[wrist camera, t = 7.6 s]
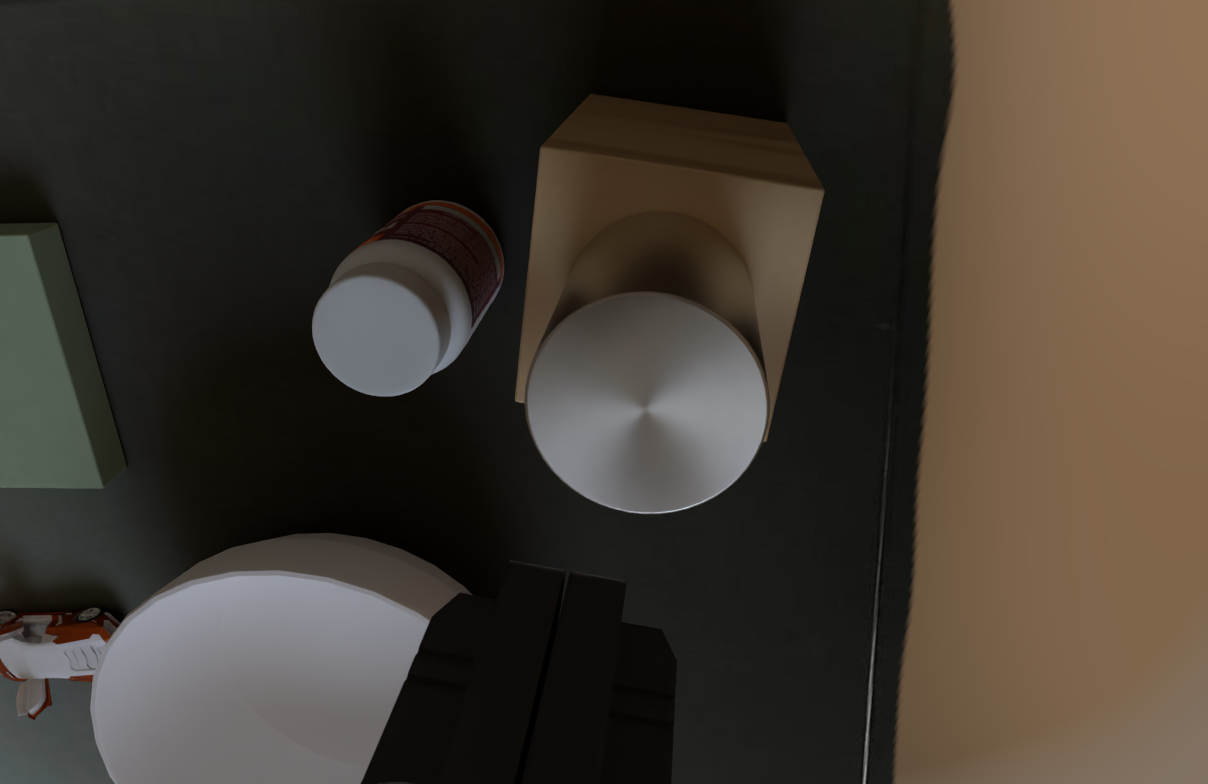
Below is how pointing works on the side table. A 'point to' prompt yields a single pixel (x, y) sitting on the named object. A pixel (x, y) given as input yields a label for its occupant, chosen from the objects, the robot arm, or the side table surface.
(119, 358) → the side table surface
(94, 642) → the toy car
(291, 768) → the bowl
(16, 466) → the green board with knob
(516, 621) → the robot arm
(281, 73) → the side table surface
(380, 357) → the pill bottle
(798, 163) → the block
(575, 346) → the spice tin
